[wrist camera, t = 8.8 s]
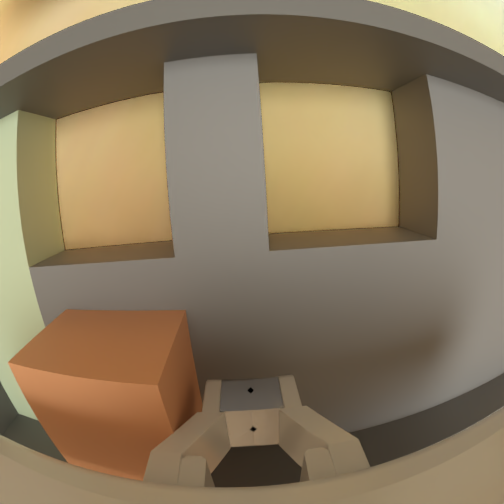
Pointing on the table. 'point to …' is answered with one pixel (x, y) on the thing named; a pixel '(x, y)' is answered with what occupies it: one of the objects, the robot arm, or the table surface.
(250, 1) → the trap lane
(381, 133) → the table surface
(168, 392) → the terracotta block
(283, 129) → the table surface
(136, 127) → the table surface
